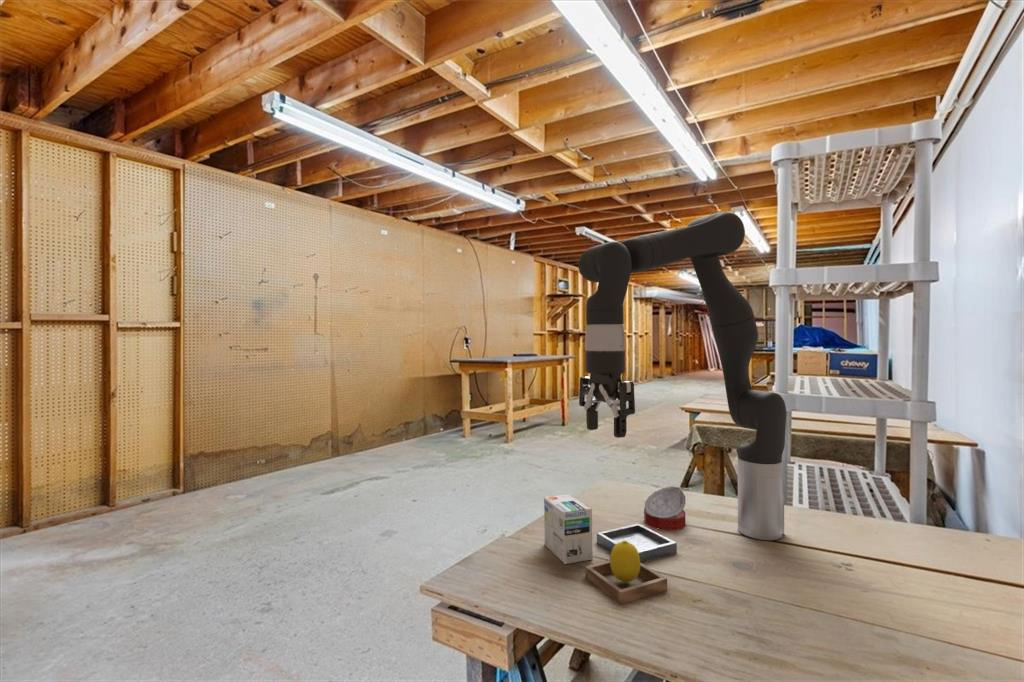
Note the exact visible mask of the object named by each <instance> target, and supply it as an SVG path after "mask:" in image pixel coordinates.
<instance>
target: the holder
mask: <svg viewBox="0 0 1024 682" xmlns="http://www.w3.org/2000/svg"><path fill="white" fill-rule="evenodd" d="M584 570H585V571H584V572H585V573H584V574H585V575H584V577H585V579H587V580H588V581H589V582H591V583H593V584H594V585H595V586H596V587H597V588H599V589H600V590H602V591H603V592H604V593H606V595H608V596H609V597H611V598H612V599H613V600H614V601H616V602H617V603H619V604H620V605H624V604H626V603H629V602H632V601H635V600H639V599H642V598H646V597H648V596H651V595H655V594H657V593H658V594H659V593H662V592H665V591H667V590H668V578H667V577H665V576H664V575H662V574H660V573H659V572H657V571H655V570H654V569H652V568H651V567H649V566H647V565H646V564H644V563H643V562H642V563H641V562H640V571H639V574H638V576H641V577H642V578H643V579H645V580H647V581H644V582H642V583H641V582H640V583H639V584H638V583H637V584H635V585H632V586H628V587H626V588H620V587H619V586H618V585H617V584H615V583H614V582H612V581H610V580H609V579H608V578H606V577H605V576H604V575H607V574H611V573H613V572H612V570H611V566H610V559H609V560H606V561H601V562H599V563H595V564H591V565H587V566H585V567H584Z"/></svg>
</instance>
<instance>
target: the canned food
mask: <svg viewBox="0 0 1024 682" xmlns="http://www.w3.org/2000/svg"><path fill="white" fill-rule="evenodd" d="M686 505H687V504H686V495H685V493H684V491H683V490H682V489H680V487H678V486H677V487H676V486H672V485H671V486H667V487H663V488H661V489H658V490H655V491H654V492H653V493H651V494H650V495H649V496H648V497H647V499H646V500H645V501H644V506H643V507H644V509H643V522H644V524H645V525H647V526H648V525H649V526H648V527H650V526H651V528H653V527H654V528H653V529H656V528H659V529H658V530H660V529H665V530H664V531H679V530H682V529H684V528H685V527H686V511H685V510H684V508H685V506H686ZM678 529H679V530H678Z"/></svg>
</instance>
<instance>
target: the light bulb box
mask: <svg viewBox="0 0 1024 682" xmlns="http://www.w3.org/2000/svg"><path fill="white" fill-rule="evenodd" d="M543 509H544V510H543V511H544V513H543V514H544V515H543V517H544V520H543V521H544V525H543V527H544V545H545V546H546V547H547V548H548V549H549V550H550V551H551V552H552V554H554V555H555V556H556V557H557V558H558V559H559V560H560V561H561V562H562V563H563V564H564V565H568V564H574V563H579V562H584V561H591V560H593V559H594V558H593V553H594V552H593V509H592V508H591V507H590V506H588V505H587V504H585V503H583V502H582V501H580V500H579V499H577V498H576V497H574V496H573V495H571V493H569V494H568V493H567V494H559V495H550V496H544V497H543Z"/></svg>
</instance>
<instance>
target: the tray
mask: <svg viewBox="0 0 1024 682" xmlns="http://www.w3.org/2000/svg"><path fill="white" fill-rule="evenodd" d="M624 540H626V541H627V542H629V543H631V544H632V545H634V546H635V548H636V549H637V551H638V553H639V557H640V562H641V563H642V564H643V563H645V562H649V561H652V560H656V559H657V560H658V559H660V558H664V557H668V556H670V555H676V554H678V553H677V552H678V542H677V541H674V540H672V539H670V538H668V537H666V536H664V535H662V534H660V533H658V532H656V531H655V530H653V529H650V528H648V527H646V526H645V525H642V524H641V523H633V524H630V525H626V526H622V527H617V528H613V529H608V530H603V531H599V532H596V543H597V544H598V545H600V546H601V547H603V548H605V549H606V550H608V552H609V551H610V553H611V552H612V549H613V547H614V546H615V545H616V544H617V543H619V542H623V541H624Z"/></svg>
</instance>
